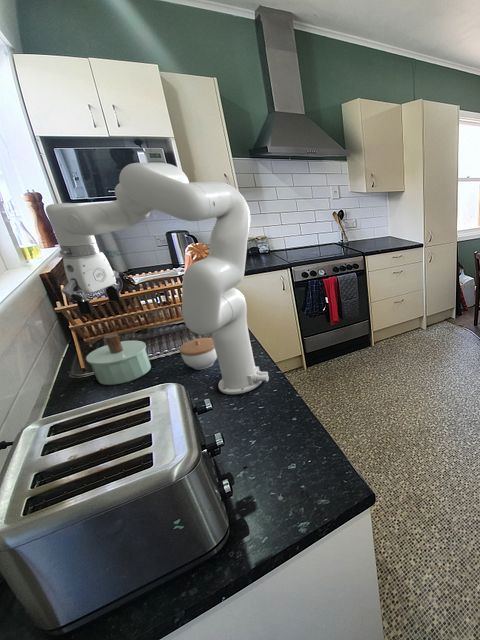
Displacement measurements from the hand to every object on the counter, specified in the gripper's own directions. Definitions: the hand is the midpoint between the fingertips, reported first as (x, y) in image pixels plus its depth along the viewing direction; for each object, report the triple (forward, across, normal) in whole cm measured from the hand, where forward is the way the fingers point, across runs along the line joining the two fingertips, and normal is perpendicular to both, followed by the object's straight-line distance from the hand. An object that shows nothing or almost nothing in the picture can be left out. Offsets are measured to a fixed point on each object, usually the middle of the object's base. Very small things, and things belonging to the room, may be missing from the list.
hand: (101, 306), depth 103 cm
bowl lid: (+16, 0, +1) cm, 16 cm away
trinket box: (+23, +6, -21) cm, 32 cm away
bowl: (+24, 0, +1) cm, 24 cm away
